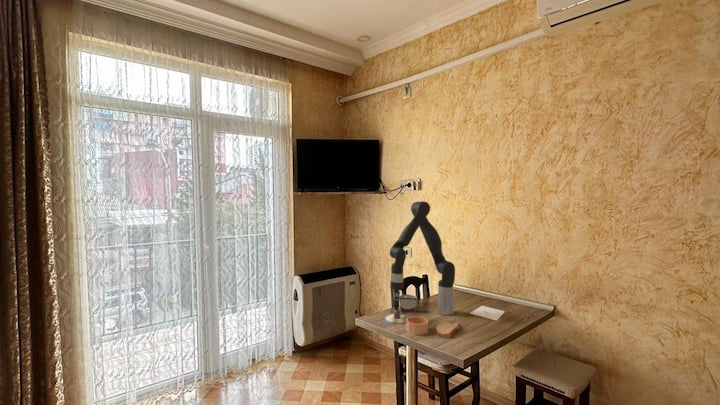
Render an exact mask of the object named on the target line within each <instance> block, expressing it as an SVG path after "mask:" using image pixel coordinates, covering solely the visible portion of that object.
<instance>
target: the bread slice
mask: <svg viewBox="0 0 720 405" xmlns="http://www.w3.org/2000/svg"><path fill="white" fill-rule="evenodd" d="M460 329H461V324H460V323H459V322H452V321H451V322H450V321H449V320H443V321H440V322H439V323H437V325H436V326H435V333H436V334H437V335H438V337H439V338H441V339H450V338H452V337H453V336H454V335H455V334H457V333H458V331H459V330H460Z"/></svg>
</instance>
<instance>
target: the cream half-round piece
mask: <svg viewBox="0 0 720 405" xmlns="http://www.w3.org/2000/svg"><path fill="white" fill-rule="evenodd" d="M418 301H419V300H418V297H417V296H416V295H413V294H402V295H401V294H400V299H399V310H400V313H401V312H404V313H416V310H417V309H416V308H417V302H418Z"/></svg>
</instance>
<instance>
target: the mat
mask: <svg viewBox="0 0 720 405" xmlns="http://www.w3.org/2000/svg"><path fill="white" fill-rule="evenodd" d="M389 314H390V313H389ZM389 314H387V313H386V314H384V320H383V324H387V325H388V324H390V325H392V324H393V325H397V324H396V323H390V322H388V321H386V320H385V317H386V316H387V315H389ZM404 315H405V316H407V317H410V315H407V314H404ZM400 325H406V323H401V324H400Z"/></svg>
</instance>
